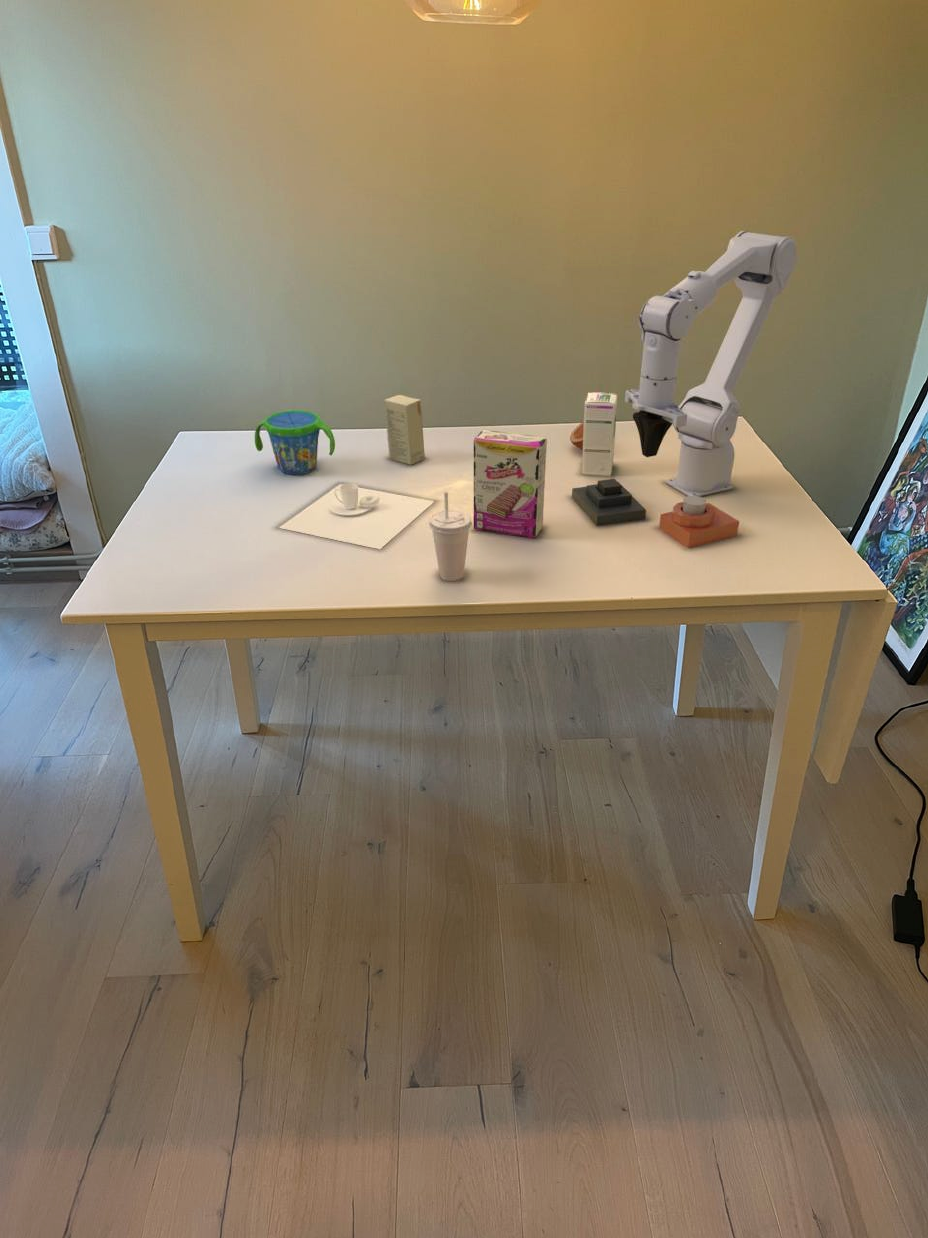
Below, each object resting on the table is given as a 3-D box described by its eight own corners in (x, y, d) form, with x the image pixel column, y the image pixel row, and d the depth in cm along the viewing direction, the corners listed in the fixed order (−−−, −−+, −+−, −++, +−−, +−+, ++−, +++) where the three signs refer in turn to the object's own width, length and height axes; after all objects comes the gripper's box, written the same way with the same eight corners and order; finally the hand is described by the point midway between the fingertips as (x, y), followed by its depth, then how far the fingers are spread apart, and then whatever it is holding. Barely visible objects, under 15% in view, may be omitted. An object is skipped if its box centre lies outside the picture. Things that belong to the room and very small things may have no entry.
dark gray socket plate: (617, 491, 160) (619, 474, 158) (645, 519, 150) (647, 501, 148) (571, 497, 158) (572, 479, 156) (596, 526, 148) (598, 507, 146)
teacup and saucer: (385, 503, 157) (383, 482, 155) (362, 521, 151) (361, 499, 149) (343, 495, 160) (341, 474, 158) (320, 512, 154) (317, 491, 152)
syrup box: (611, 476, 166) (617, 402, 158) (580, 474, 167) (584, 400, 159) (613, 465, 171) (619, 392, 163) (582, 463, 172) (587, 391, 164)
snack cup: (345, 462, 174) (340, 412, 168) (324, 482, 165) (318, 431, 160) (274, 455, 178) (267, 406, 172) (249, 475, 169) (241, 424, 164)
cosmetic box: (425, 459, 174) (423, 399, 168) (410, 465, 172) (407, 405, 165) (402, 451, 178) (399, 393, 171) (387, 458, 175) (383, 398, 169)
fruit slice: (605, 457, 174) (607, 433, 171) (572, 457, 174) (573, 433, 171) (599, 441, 181) (601, 418, 178) (567, 442, 181) (568, 419, 178)
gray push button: (695, 505, 145) (697, 494, 144) (709, 513, 142) (711, 502, 141) (677, 509, 144) (679, 498, 143) (691, 518, 141) (692, 506, 140)
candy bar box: (472, 531, 147) (471, 438, 139) (481, 518, 151) (481, 428, 143) (536, 540, 144) (539, 446, 135) (544, 527, 148) (547, 435, 139)
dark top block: (613, 487, 154) (614, 478, 153) (620, 494, 152) (621, 485, 151) (596, 489, 153) (597, 480, 153) (603, 497, 151) (604, 487, 150)
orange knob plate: (706, 516, 151) (710, 492, 148) (737, 535, 145) (741, 511, 142) (658, 528, 147) (661, 504, 145) (687, 548, 141) (691, 523, 139)
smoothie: (430, 566, 137) (426, 484, 130) (470, 563, 138) (469, 482, 130) (432, 586, 132) (429, 502, 125) (474, 584, 132) (473, 500, 125)
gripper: (613, 366, 145) (606, 444, 152) (665, 390, 133) (654, 473, 141) (648, 361, 147) (639, 438, 154) (702, 385, 136) (690, 466, 143)
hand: (649, 455), depth 148 cm, fingers closed
